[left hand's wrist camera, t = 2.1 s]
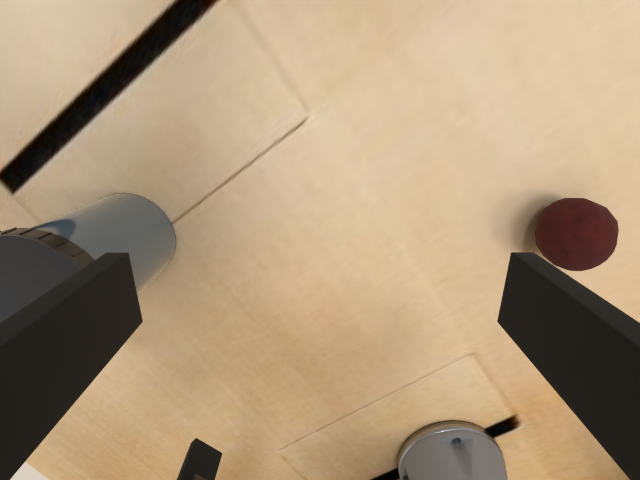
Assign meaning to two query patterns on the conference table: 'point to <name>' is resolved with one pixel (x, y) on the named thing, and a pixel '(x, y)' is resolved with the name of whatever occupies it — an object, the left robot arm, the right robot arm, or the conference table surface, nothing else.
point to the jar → (120, 232)
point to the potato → (576, 234)
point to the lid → (34, 266)
